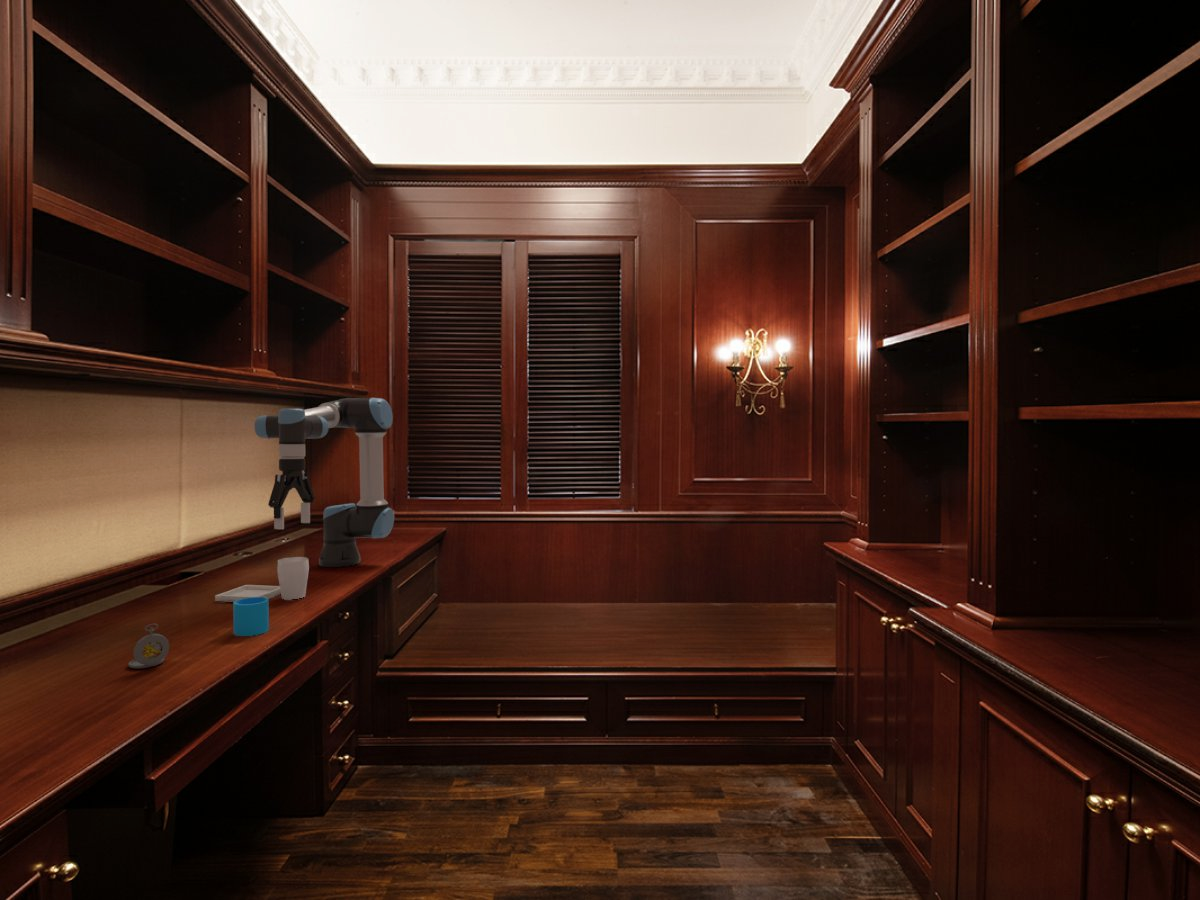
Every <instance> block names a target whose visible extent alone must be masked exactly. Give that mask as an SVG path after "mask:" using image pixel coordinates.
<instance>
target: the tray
mask: <svg viewBox="0 0 1200 900" xmlns="http://www.w3.org/2000/svg"><path fill="white" fill-rule="evenodd" d="M280 594H281V591H280V585H263V584H262V585H260V584H257V585H256V584H245V585H242V586H239V587H236V588H233V589H230V590H228V591H224V592H222V593H218V594H215V595H214V599H215V600H214V602H215V601H225V602H235V601H237V600H240V599H244V598H251V597H265V598H268V600H270V598H271V599H273V598H276V597H278V595H279V596H281V595H280ZM275 596H276V597H275ZM225 602H224V603H225Z"/></svg>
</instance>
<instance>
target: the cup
mask: <svg viewBox="0 0 1200 900" xmlns="http://www.w3.org/2000/svg"><path fill="white" fill-rule="evenodd" d="M276 569H277V570H276V571H277V578H278V586H280V591H281V595H280V596H281V599H282V600H283V599H284V601H293V600H292V599H298V600H300V599H299V598H302V599H303V597H304V598H306V594H307V586H308V578H309V571H310V570H309V569H310V565H309V558H308V557H306V556H305V557H304V556H293V557H292V556H291V557H284V558H281V559H277V568H276Z"/></svg>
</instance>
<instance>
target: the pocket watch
mask: <svg viewBox="0 0 1200 900" xmlns="http://www.w3.org/2000/svg"><path fill="white" fill-rule="evenodd" d="M152 625H154V626H155V625H156V627H155V628H154V627H153V626H152ZM149 626H150V627H149ZM148 627H149V628H148ZM147 628H148V629H147ZM158 628H159V624H157V623H150V624H148V625H145V627H144V631H147V632H149V634H147V635H144V636H143V637H142V638H140V639H139V640H138V641H137V642H136V644H135V645H134V648H133V651H132V652H133V657H134V659H132V660H130V661H129V662H128V667H129V668H131V669H146V668H151V667H156V666H158V665H160V664H162V663H164V661H165V657H166V656H167V655H168V652H169V649H170V642H169V640H168V638H167V637H165V636H164V635H162V634H160V633H153V632H154V631H155V630H157V629H158Z"/></svg>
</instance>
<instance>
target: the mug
mask: <svg viewBox="0 0 1200 900" xmlns="http://www.w3.org/2000/svg"><path fill="white" fill-rule="evenodd" d="M232 606H233V608H232V609H233V610H232V611H233V612H232V613H233V620H232V621H233V635H234V634H235V635H238V636H250V637H254V636H253V635H256V636H259V635H258V634H261V635H263V634H262V633H264V634H266V633H268V632H269V631H270V630H269V629H270V626H269V625H270V619H269V618H270V617H269V614H270V613H269V612H270V611H269V599H268V598H265V597H251V598H244V599H240V600H237V601H235V602H233V603H232ZM268 630H269V631H268ZM267 631H268V632H267ZM265 632H266V633H265ZM235 635H234V636H235ZM238 636H237V637H238Z"/></svg>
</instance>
